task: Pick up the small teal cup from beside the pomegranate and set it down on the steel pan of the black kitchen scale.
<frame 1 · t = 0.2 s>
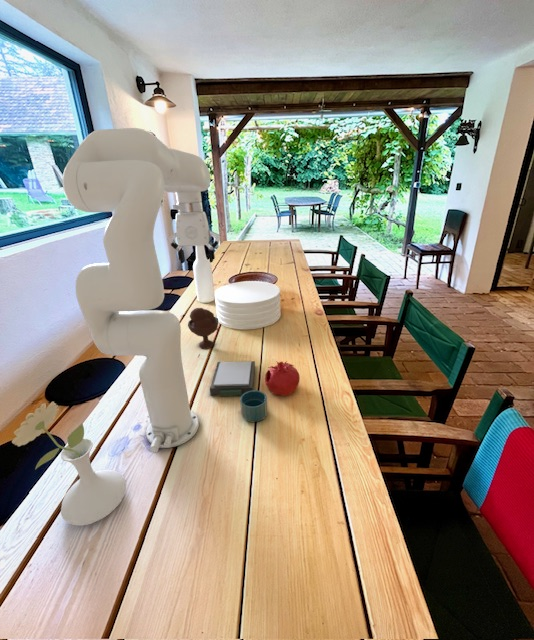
hand: (197, 261, 108), 31 cm above the table, tool pointing down, fingers open, 9 cm apart
plate stack: (249, 316, 142), on the table
ice cream bowl: (206, 345, 119), on the table
pomegranate: (282, 389, 93), on the table
alcohol: (206, 300, 162), on the table
flower in vase: (93, 505, 62), on the table
teal cup: (254, 414, 84), on the table
scale: (234, 380, 98), on the table
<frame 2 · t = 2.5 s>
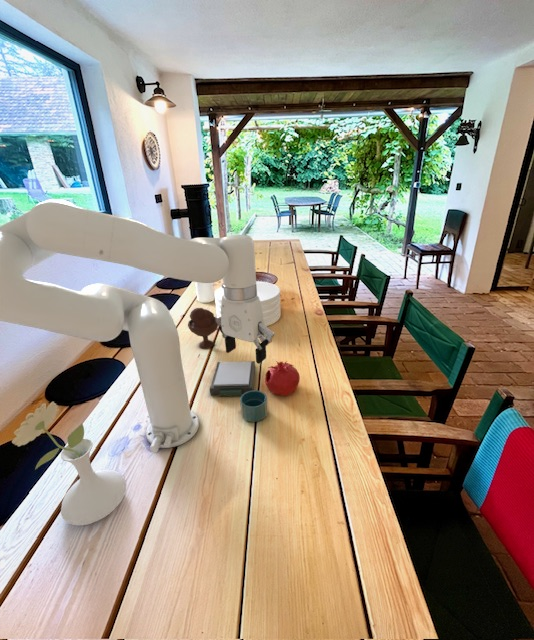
hand: (245, 355, 81), 16 cm above the table, tool pointing down, fingers open, 9 cm apart
nothing on the table moved.
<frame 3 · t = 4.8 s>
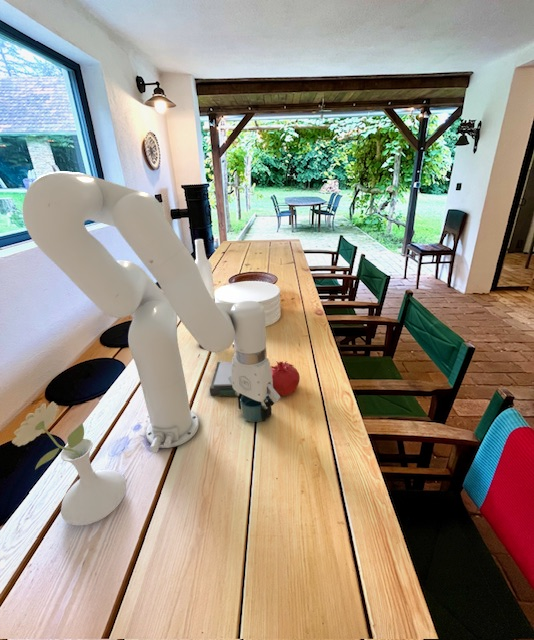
hand: (254, 411, 84), 1 cm above the table, tool pointing down, fingers closed on teal cup, 7 cm apart
teal cup: (254, 414, 84), on the table, touching gripper
everything else where it was.
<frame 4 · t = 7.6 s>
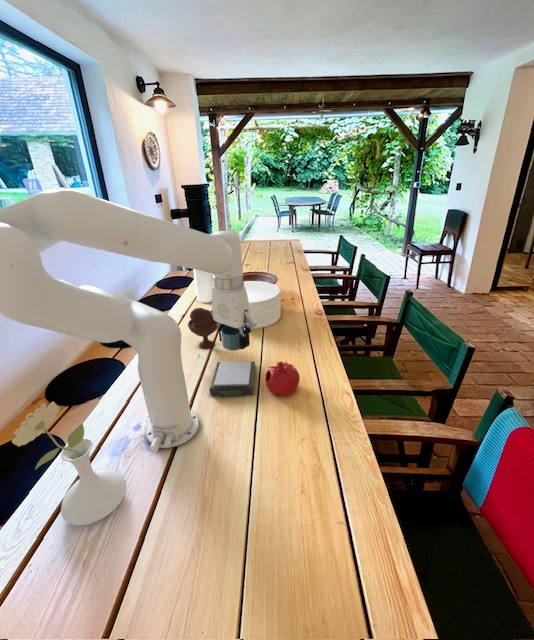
hand: (234, 342, 89), 15 cm above the table, tool pointing down, fingers closed on teal cup, 7 cm apart
teal cup: (234, 345, 89), point 14 cm above the table, touching gripper
everything else where it was.
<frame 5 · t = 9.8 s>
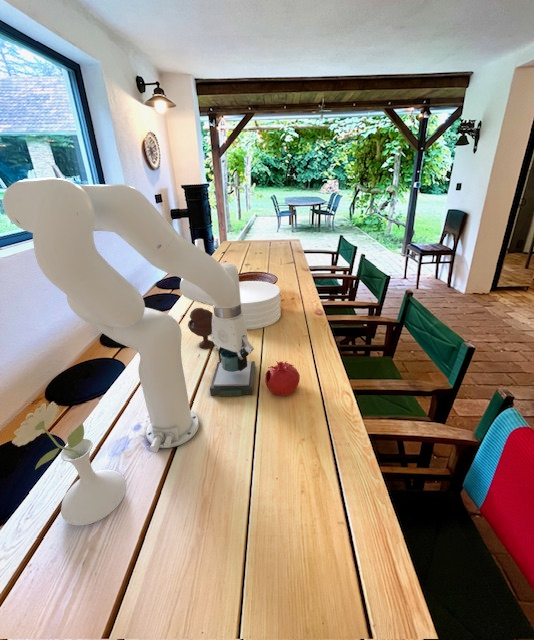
hand: (233, 364, 95), 6 cm above the table, tool pointing down, fingers closed on teal cup, 7 cm apart
teal cup: (233, 366, 96), point 5 cm above the table, touching gripper
everything else where it was.
when the fingers open (4 cm above the table, at t = 10.9 s): teal cup stays where it is, resting on scale.
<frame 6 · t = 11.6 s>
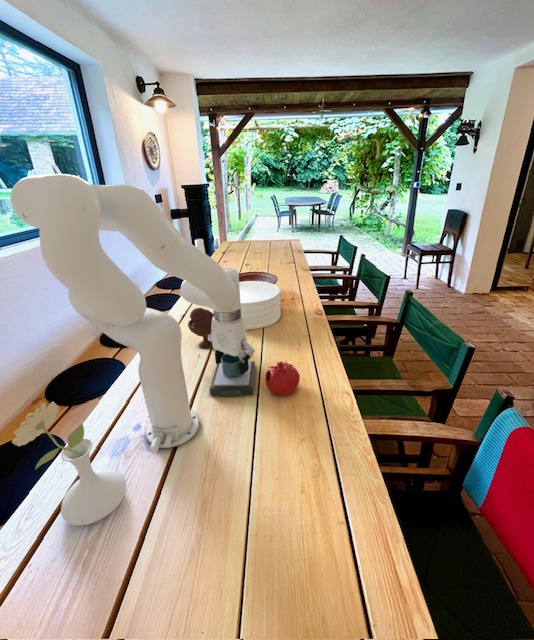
hand: (232, 366, 95), 5 cm above the table, tool pointing down, fingers open, 9 cm apart
teal cup: (233, 371, 97), point 3 cm above the table, touching scale
everything else where it was.
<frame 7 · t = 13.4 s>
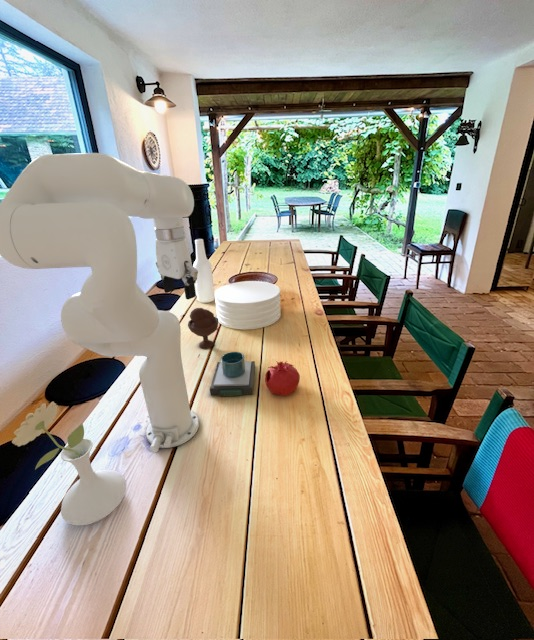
hand: (180, 294, 93), 26 cm above the table, tool pointing down, fingers open, 9 cm apart
nothing on the table moved.
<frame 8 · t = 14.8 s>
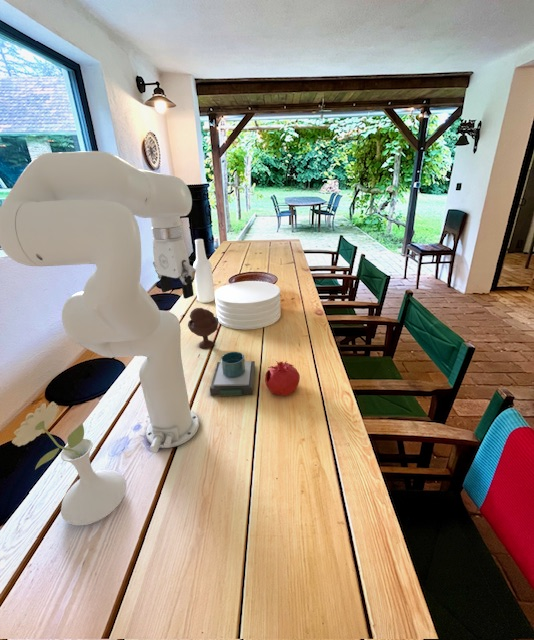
hand: (177, 293, 93), 26 cm above the table, tool pointing down, fingers open, 9 cm apart
nothing on the table moved.
at the end: teal cup inside the target area on the scale (0.2 cm from its centre), point 3.1 cm above the scale's base; teal cup tilted 0°; the gripper is holding nothing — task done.
